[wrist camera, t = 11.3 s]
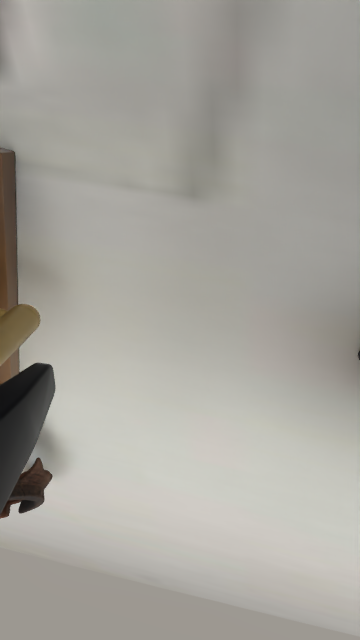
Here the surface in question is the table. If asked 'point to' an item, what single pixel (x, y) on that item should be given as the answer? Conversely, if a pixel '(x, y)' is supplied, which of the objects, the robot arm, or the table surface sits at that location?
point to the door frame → (8, 250)
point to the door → (16, 328)
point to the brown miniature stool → (29, 489)
